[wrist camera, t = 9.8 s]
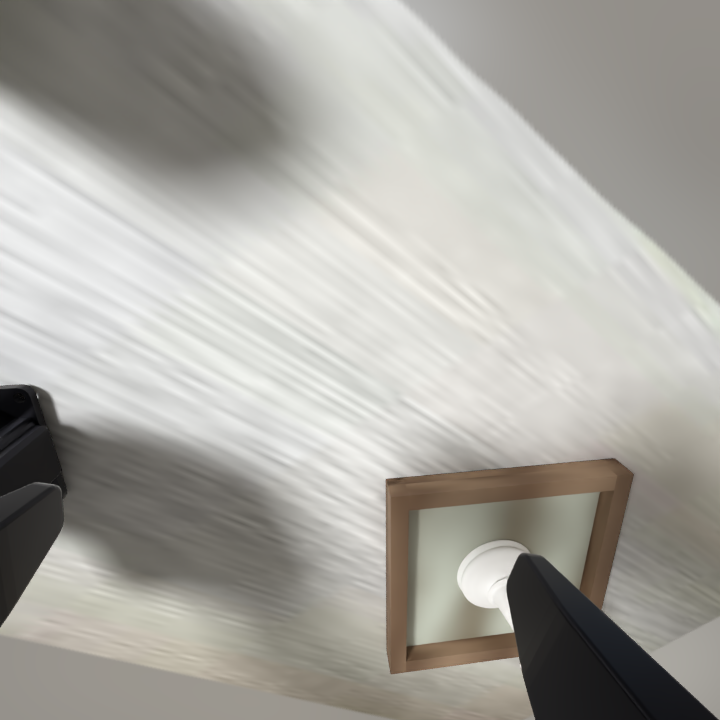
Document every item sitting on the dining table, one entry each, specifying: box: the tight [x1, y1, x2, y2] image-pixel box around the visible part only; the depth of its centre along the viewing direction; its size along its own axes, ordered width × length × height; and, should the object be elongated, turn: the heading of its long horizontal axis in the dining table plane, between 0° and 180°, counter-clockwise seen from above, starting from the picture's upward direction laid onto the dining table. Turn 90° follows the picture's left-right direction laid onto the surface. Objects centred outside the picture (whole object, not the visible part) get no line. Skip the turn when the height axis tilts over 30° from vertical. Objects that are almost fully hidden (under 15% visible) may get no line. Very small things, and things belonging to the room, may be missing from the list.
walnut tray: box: [386, 458, 634, 674], centre depth 26 cm, size 14×14×2 cm
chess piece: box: [457, 540, 530, 667], centre depth 21 cm, size 5×5×10 cm
